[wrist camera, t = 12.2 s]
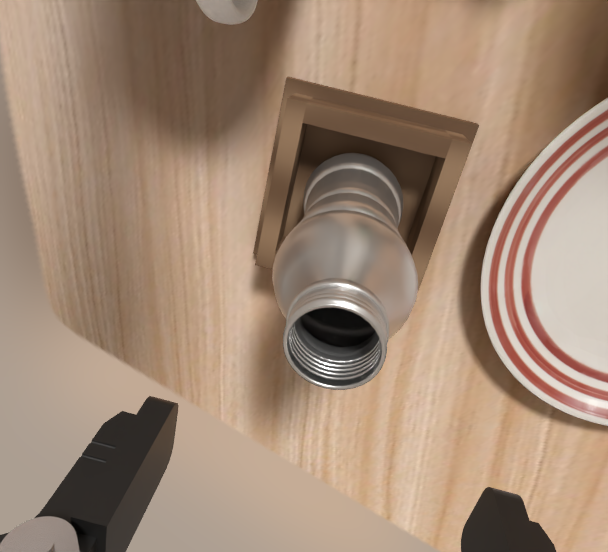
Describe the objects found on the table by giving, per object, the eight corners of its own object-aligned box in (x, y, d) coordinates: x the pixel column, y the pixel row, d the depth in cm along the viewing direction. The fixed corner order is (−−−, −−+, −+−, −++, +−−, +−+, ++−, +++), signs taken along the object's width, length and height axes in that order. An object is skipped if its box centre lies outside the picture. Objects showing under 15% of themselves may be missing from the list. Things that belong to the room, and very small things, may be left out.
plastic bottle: (341, 126, 33) (301, 223, 15) (421, 182, 34) (472, 335, 16) (291, 202, 36) (208, 359, 18) (366, 252, 37) (358, 449, 19)
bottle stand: (288, 76, 33) (277, 80, 29) (476, 123, 33) (490, 133, 29) (255, 249, 39) (242, 272, 35) (415, 290, 39) (420, 317, 35)
